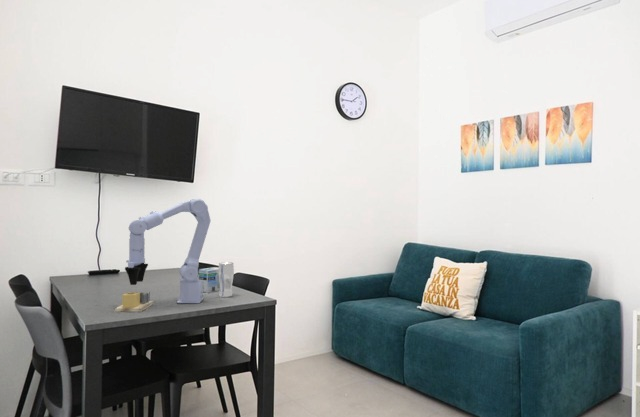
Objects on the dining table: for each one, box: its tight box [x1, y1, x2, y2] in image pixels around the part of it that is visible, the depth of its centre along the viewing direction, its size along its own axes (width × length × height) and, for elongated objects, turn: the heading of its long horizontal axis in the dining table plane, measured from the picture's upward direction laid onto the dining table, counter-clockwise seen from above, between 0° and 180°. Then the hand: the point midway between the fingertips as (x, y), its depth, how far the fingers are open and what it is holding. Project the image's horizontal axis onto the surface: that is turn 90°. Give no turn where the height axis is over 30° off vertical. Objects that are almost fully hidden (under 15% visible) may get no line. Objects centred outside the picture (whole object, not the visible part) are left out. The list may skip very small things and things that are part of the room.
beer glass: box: [217, 261, 235, 298], centre depth 200 cm, size 7×7×15 cm
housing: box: [139, 291, 151, 303], centre depth 178 cm, size 9×5×4 cm, turn 94°
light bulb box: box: [198, 266, 220, 294], centre depth 213 cm, size 11×7×11 cm, turn 147°
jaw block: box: [121, 291, 140, 308], centre depth 172 cm, size 5×5×5 cm
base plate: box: [114, 300, 154, 313], centre depth 175 cm, size 10×13×4 cm
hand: (136, 283), depth 178 cm, fingers open, 7 cm apart
